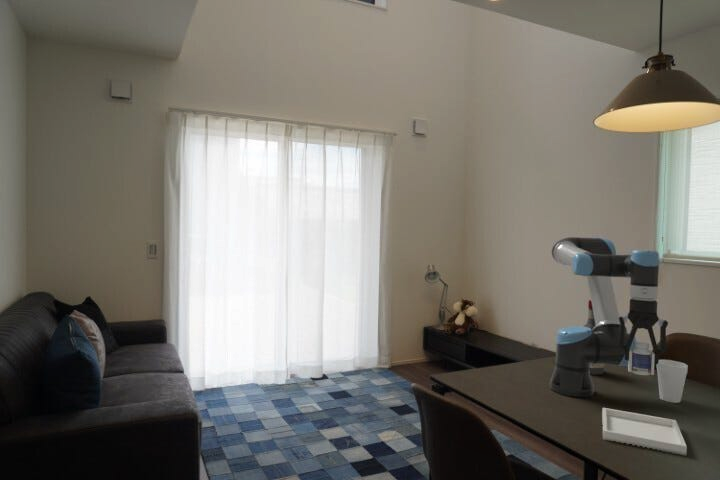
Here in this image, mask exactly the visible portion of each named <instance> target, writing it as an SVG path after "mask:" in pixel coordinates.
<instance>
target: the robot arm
mask: <svg viewBox="0 0 720 480" xmlns="http://www.w3.org/2000/svg"><path fill="white" fill-rule="evenodd" d="M551 255H552V259H554V261H556V263H559V264H560V265H563V266H569V267H571V271H572V273H573V274H574V275H575V276H582V277H586V279H587V284H588V285H587V286H588V289H589V294H590V300H591V302H592V308H593V313H594V319H595V324H596V326H595V327H594V328H593V329H592V331H591V329H590V328H588V327H583V326H580V325H579V326H578V325H577V326H574V325H572V326H566V327H562V328H560V329H559V330H558V331H557V334H556V340H555V342H556V345H555V346H556V348H555V367H554V369H553V373H552V374H551V375H552V376H551V378H550V381H549V388H550V389H551V391H554V392H555V393H557V394H560V395H564V396H569V397H576V398H587V397H588V398H589V397H593V396H594V395H595V386H594V381H593V378H592V375H590V364H602V365H604V366H606V365H607V366H616V367H619V366H621V367H622V366H623V367H624V366H625V367H626V366H627V371H628V372H629V373H632V372H631V369H632V349H633V348H635V345H634V344H635V341H637V337H636V333H637V331H638V329H640V330H641V329H643V330H647V332H648V336H649V339H650V342H651V347H652V350H653V351H651V373H650V375H651V376H654V375H655V365H656V364H658V360H660V359H659V358H660V355H661V354H662V353H663V354H665V353H666V352H667V336H666V335H667V331H666V330H667V328H668V325H669V322H668V321H667V320H666V319H662V318H659V316H658V301H657V299H658V287H659V284H658V283H659V269H660V267H659V266H660V257H659V256H660V254H659V252H658V251H657V250H647V249H645V250H644V249H643V250H642V249H633V250H632V251H631V254H617V250H616V247H615V245H614V243H613V242H612V240H611V239H610V238H603V237H578V236H577V237H575V236H574V237H573V236H571V237H569V236H568V237H565V238H562V239H559V240H558V241H556V242H555V243H554V244H553V246H552V248H551ZM612 278H630V287H629V288H630V290H629V296H630V299H629V311H628V314H627V315H622V316H621V315H619V314H620V312H619V309H618V305H617V299H616V295H615V290H614V289H615V288H614V285H613V280H612ZM628 320H629V322H630V323H631V324H632V326H631V329H630V332H629V333H628V329H627V326H626V323H627V322H628ZM657 322H658V325H659V341H660V342H659V343H660V344H659V347H658V344H657V340H656V336H655V333H654V329H653V327H654V326H655V325H656V323H657Z"/></svg>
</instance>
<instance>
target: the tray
mask: <svg viewBox="0 0 720 480" xmlns="http://www.w3.org/2000/svg"><path fill="white" fill-rule="evenodd" d="M601 417H602V419H601V422H602V425H603V426H602V440H603V441H604V440H605V441H610V442H614V441H615V442H616V443H619V442H620V443H621V444H624V443H626V444H625V445H629V444H632V445H631V446H635V445H637V446H636V447H640V446H642V447H641V448H645V447H647V448H646V449H650V448H652V450H655V449H657V451H660V450H661V452H665V453H670V452H671V454H676V455H681V456H687V451H688V450H687V449H688V447H687V444H686V441H685V439H684V437H683V434H682V432H681V429H680V426H679V424H678V423H677V420H676V419H672V418H671V419H670V418H666V417H665V418H664V417H659V416H653V415H649V414H642V413H638V412H631V411H624V410H619V409H615V408H614V409H613V408H608V407H607V408H606V407H602V411H601ZM615 442H614V443H615Z"/></svg>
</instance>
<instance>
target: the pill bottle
mask: <svg viewBox="0 0 720 480" xmlns="http://www.w3.org/2000/svg"><path fill="white" fill-rule="evenodd" d="M634 345H635V348H633V349H632V369H631V372H630V373H633V374H636V375H641V376H649V375H651V352H652V351H651V350H650V349H649V348H650V343H649V342H646V341H639V340H638V341H637V340H636V341H635V344H634Z"/></svg>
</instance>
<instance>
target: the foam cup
mask: <svg viewBox="0 0 720 480" xmlns="http://www.w3.org/2000/svg"><path fill="white" fill-rule="evenodd" d="M655 365H656V366H655V367H656V371H657V382H658V383H657V384H658V392H659V399H660V400H662V401H665V402H668V403H673V404H674V403H675V404H677V403H678V404H679V403H681V401H682V396H683V393H684V392H683V391H684V387H685V382H686V378H687V374H688V369H689V368H688V367H689V366H688V364H686V363H684V362H681V361H676V360H671V359H659V360H658V364H655Z"/></svg>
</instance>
